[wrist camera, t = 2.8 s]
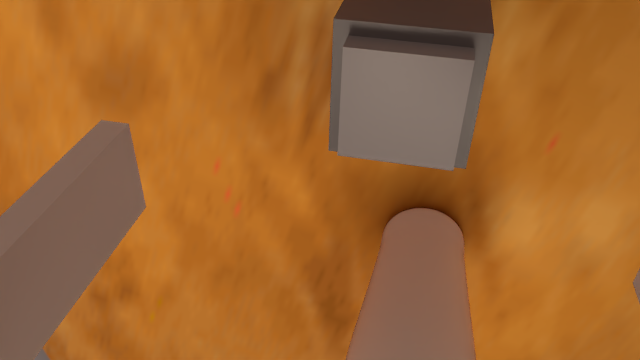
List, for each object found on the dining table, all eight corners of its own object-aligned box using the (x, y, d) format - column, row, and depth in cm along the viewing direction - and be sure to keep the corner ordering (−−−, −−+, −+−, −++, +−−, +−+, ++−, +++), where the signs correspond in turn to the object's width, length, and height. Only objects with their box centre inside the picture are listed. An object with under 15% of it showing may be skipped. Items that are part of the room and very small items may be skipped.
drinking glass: (355, 242, 39) (305, 444, 27) (407, 176, 35) (377, 380, 23) (436, 286, 40) (423, 502, 28) (497, 228, 36) (512, 450, 24)
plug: (484, -57, 27) (495, 46, 16) (466, 43, 30) (465, 184, 19) (379, -64, 28) (327, 29, 17) (372, 34, 30) (323, 165, 20)
